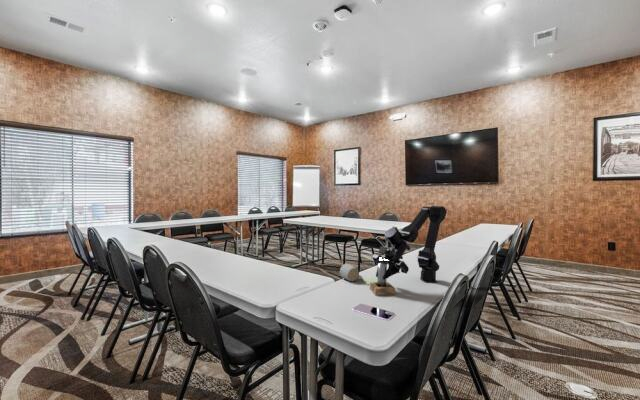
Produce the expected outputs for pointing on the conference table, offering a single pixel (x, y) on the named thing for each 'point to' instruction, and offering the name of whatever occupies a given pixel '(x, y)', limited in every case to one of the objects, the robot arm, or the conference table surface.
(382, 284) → the peg
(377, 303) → the conference table surface
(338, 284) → the conference table surface
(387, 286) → the wooden peg socket
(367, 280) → the coaster
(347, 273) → the ceramic mug
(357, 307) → the mobile phone
